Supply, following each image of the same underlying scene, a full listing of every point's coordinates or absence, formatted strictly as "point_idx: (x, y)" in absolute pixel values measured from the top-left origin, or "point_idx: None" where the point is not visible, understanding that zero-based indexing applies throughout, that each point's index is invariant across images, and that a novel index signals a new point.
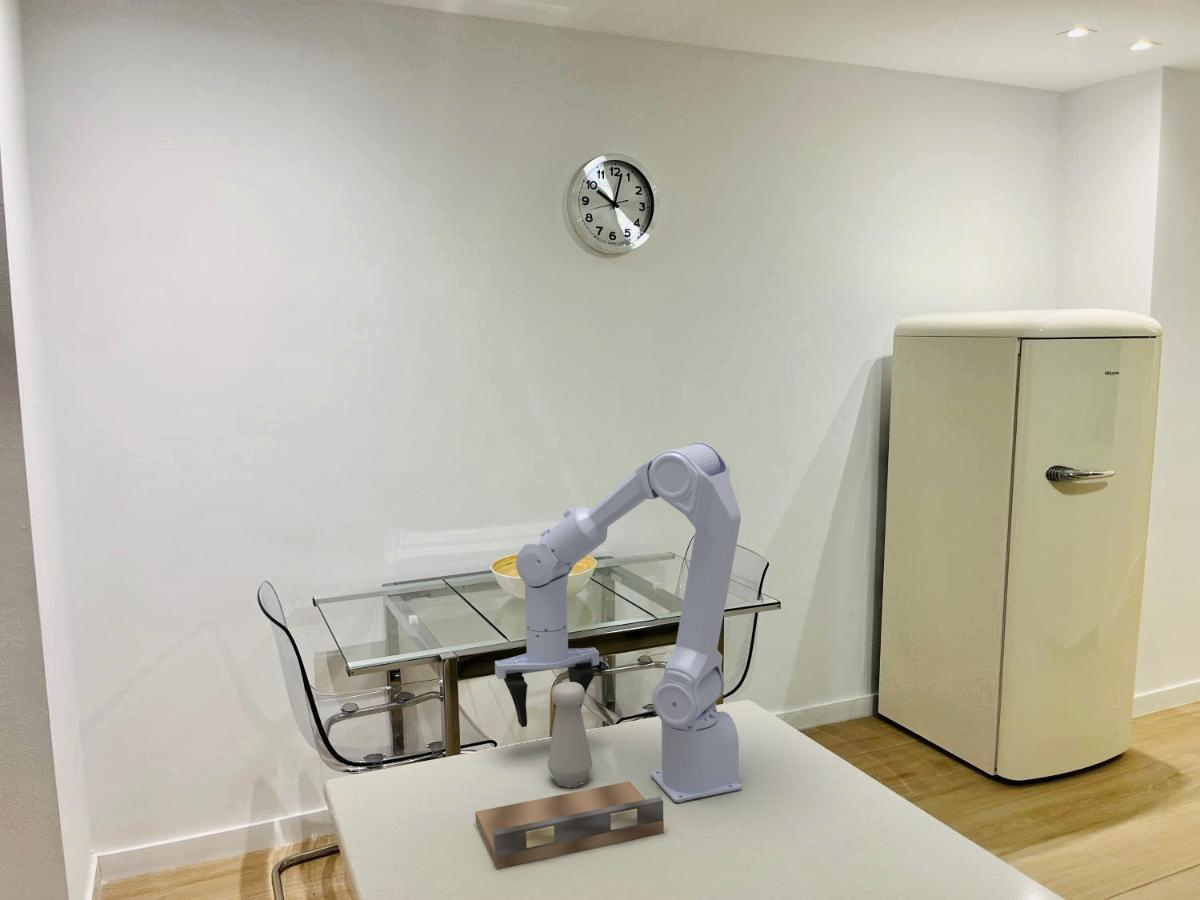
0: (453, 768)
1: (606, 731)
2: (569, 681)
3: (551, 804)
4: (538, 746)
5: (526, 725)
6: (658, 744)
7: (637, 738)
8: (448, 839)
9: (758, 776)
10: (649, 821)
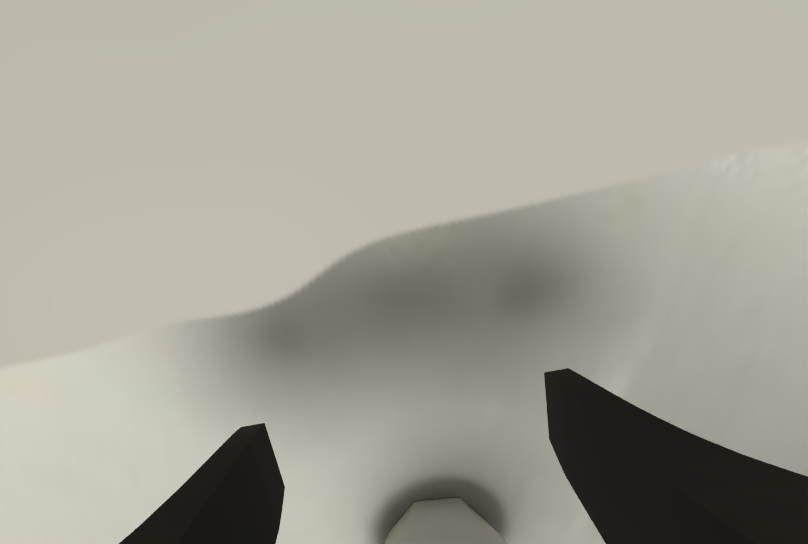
0: (22, 402)
1: (671, 202)
2: (663, 478)
3: None
4: (361, 285)
5: (281, 493)
6: (803, 357)
7: (758, 294)
8: None
9: None
10: None
